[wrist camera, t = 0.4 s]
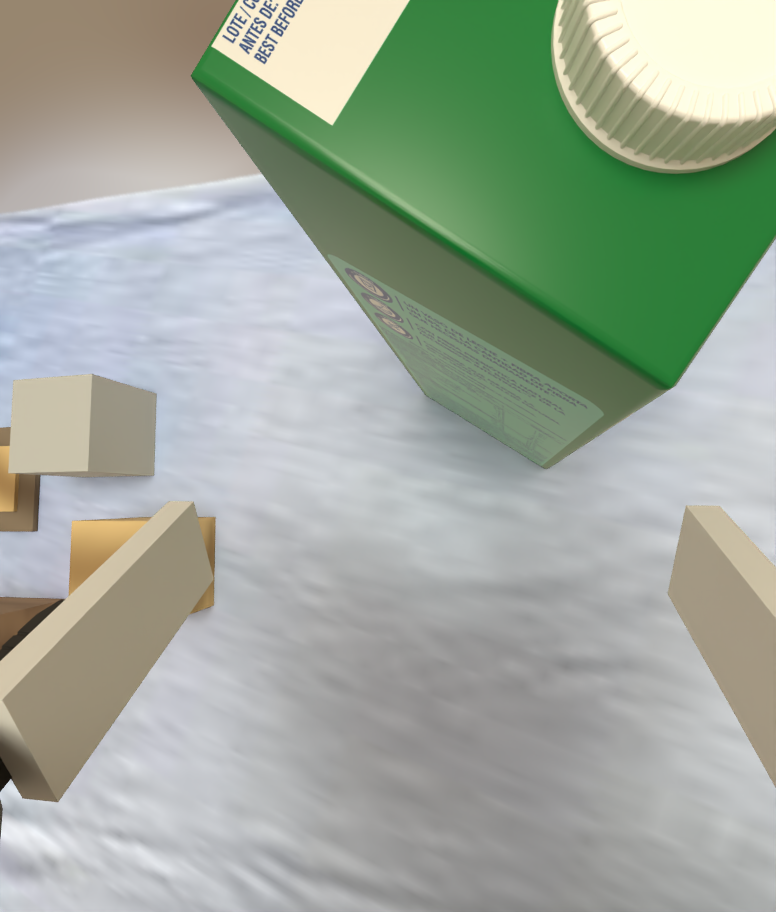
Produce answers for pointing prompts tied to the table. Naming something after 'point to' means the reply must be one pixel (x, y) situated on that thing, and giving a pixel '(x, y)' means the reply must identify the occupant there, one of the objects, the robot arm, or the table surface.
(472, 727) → the table surface
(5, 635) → the walnut block
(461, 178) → the milk carton
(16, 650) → the robot arm
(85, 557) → the maple cube
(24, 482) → the tile
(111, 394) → the beige cube
